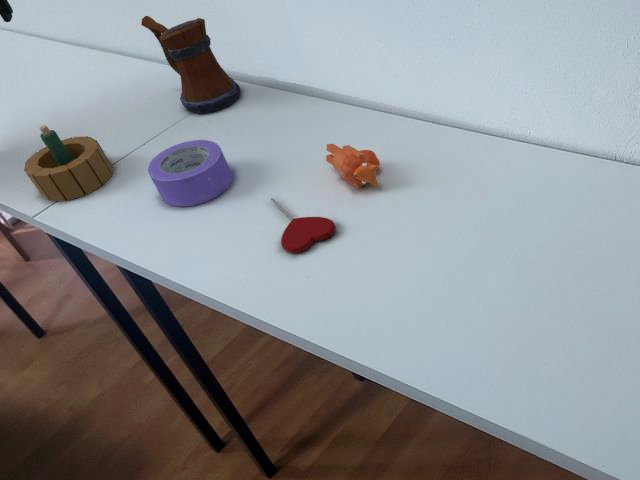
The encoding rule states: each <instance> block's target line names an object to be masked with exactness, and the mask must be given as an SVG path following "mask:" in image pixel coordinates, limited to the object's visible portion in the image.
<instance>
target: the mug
mask: <svg viewBox="0 0 640 480" xmlns="http://www.w3.org/2000/svg"><path fill="white" fill-rule="evenodd" d="M140 25H141V26H142V27H143V28H146V29H148V30H149V31H150V32H151V33H152V34H153V36H154V37H155V38H156V40H157V41H158V44H159V46H160V47H161V49H162V52H163V54H164V57H165V59H166V62H167V63H168V64H169V67H170V68H172V69H173V71H174V72H176V73H177V74H178V76H180V83H181V93H180V98H179V100H180V102H181V104H182V106H183V107H184V108H185V109H187V110H188V111H189V112H192V113H196V114H201V115H203V114H204V115H205V114H208V113H214V112H217V111H220V110H222V109H225V108H228V107H230V106H231V105H232V104H233V103H234V102H236V101H237V100H238V99H239V96H240V94H241V87H240V85H239V84H238V83H237V81H235V80H234V78H232V77H230V76H229V75H228V73H227V72H226V71H225V70H224V68H222V66H221V65H220V63H219V62H218V60H217V58H216V56H215V55H214V53H213V51H212V48H211V45H212V44H211V37H210V36H209V35H208V34H207V28H206V19H204V18H201V17H197V18H196V19H192V20H187V21H185V22H181V23H179V24H177V25H175V26H172V27H170V28H168V27H166V26H165V25H163V24H161V23H159V22H158V21H156V20H155V19H154V18H152V17H151V16H149V15H144V16H143V17H142V18H141V24H140Z"/></svg>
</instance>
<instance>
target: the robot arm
mask: <svg viewBox="0 0 640 480" xmlns="http://www.w3.org/2000/svg"><path fill="white" fill-rule="evenodd" d="M13 13H14V10H13V8H12V5H11V4H10V3H9V1H8V0H0V18H2V20H3V22H4V23H11V21H12V18H13Z"/></svg>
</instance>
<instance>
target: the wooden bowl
mask: <svg viewBox="0 0 640 480" xmlns="http://www.w3.org/2000/svg"><path fill="white" fill-rule="evenodd" d="M60 140H61V141H62V143H63V144H64V146H65V147H66V149H67V150H68V152H69V153H70V155H71V156H72V158H73V159H74V160H73V161H71V162H70V163H68V164H66V165H62V166H60V165H59V164H58V163H57V161H56V160H55V158H54V157H53V155H52V154H51V152H50V151H49V149H48V148H47V146H46V145H45V146H43V147H42V148H40V149H38V151H36V152H34V153H33V154H32V155H31V156H30V157H28V159H27V160H26V161H25V163H24V168H23V171H24V173H25V174H26V176H27V177H28V178H29V180H30V181H31V183H32V184H33V185H34V186H35V188H36V189H37V190H38V192H39V193H40V195H41V196H42V197H43V198H45V199H46V200H47V201H51V202H67V201H72V200H75V199H77V198H78V199H79V198H81V197H84V196H85V195H89V194H91V193H93V192H94V191H96V190H98V189H100V188H102V186H104V185H105V184H106V183H107V182H108V181H109V180H110V178H111V177H112V176H113V175H114V166H113V165H112V162H111V161H110V159H109V157H108V156H107V154H106V152H105V151H104V149H103V148H102V146H101V144H100V143H99V142H98V140H97V139H95V138H93V137H91V136H73V137H71V136H70V137H68V138H65V139H60Z"/></svg>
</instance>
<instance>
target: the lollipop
mask: <svg viewBox="0 0 640 480" xmlns="http://www.w3.org/2000/svg"><path fill="white" fill-rule="evenodd" d="M270 200H271V202H273V204H275V205H276V207H278V208H279V209H280V210H281V211H282V212H283V213H284V214H285V215H286V216H287V217H288V218H289V219H290V222H289V223H288V225H287V226H286V227H285V229H284V231H283V233H282V235H281V239H280V244H281V247H282V249H283V250H285V251H286V252H287V253H292V254H295V253H296V254H297V253H302V252H304V251H305V250H307V249H309V248H310V247H311V246H312V245H313V242H319V241H320V242H321V241H324V240H327V239H328V238H330V237H331V236H332V235H334V233H335V231H336V224H335V223H334V221H333V220H331V219H330V218H327V217H322V216H304V217H296V218H294V217H293V216H292V215H291V214H289V212H287V211H286V210H285V208H284V207H282V206H281V205H280V203H278V201H276V200H275V198H273V197H271V198H270Z"/></svg>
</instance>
